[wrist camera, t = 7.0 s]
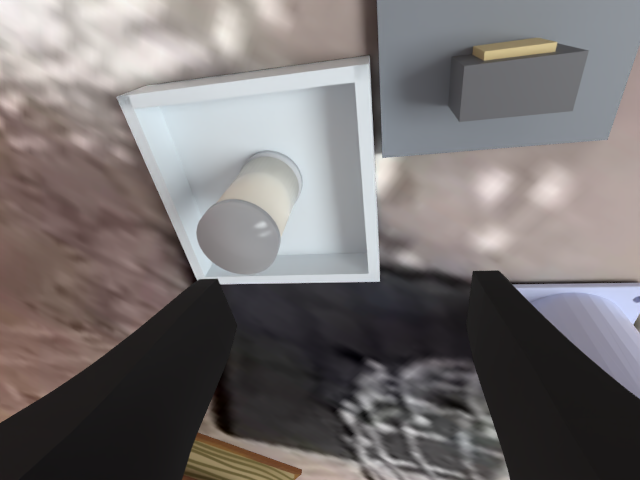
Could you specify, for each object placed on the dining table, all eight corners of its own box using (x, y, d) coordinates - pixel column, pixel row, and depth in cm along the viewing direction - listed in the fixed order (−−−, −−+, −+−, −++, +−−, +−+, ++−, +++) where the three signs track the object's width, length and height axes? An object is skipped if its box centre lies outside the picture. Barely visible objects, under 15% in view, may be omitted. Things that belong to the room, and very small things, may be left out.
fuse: (305, 207, 20) (282, 276, 15) (248, 206, 20) (207, 273, 15) (299, 150, 18) (271, 207, 13) (236, 150, 18) (186, 206, 13)
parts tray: (379, 254, 22) (379, 281, 19) (214, 259, 24) (199, 284, 22) (369, 55, 15) (369, 63, 13) (146, 85, 17) (115, 96, 15)
